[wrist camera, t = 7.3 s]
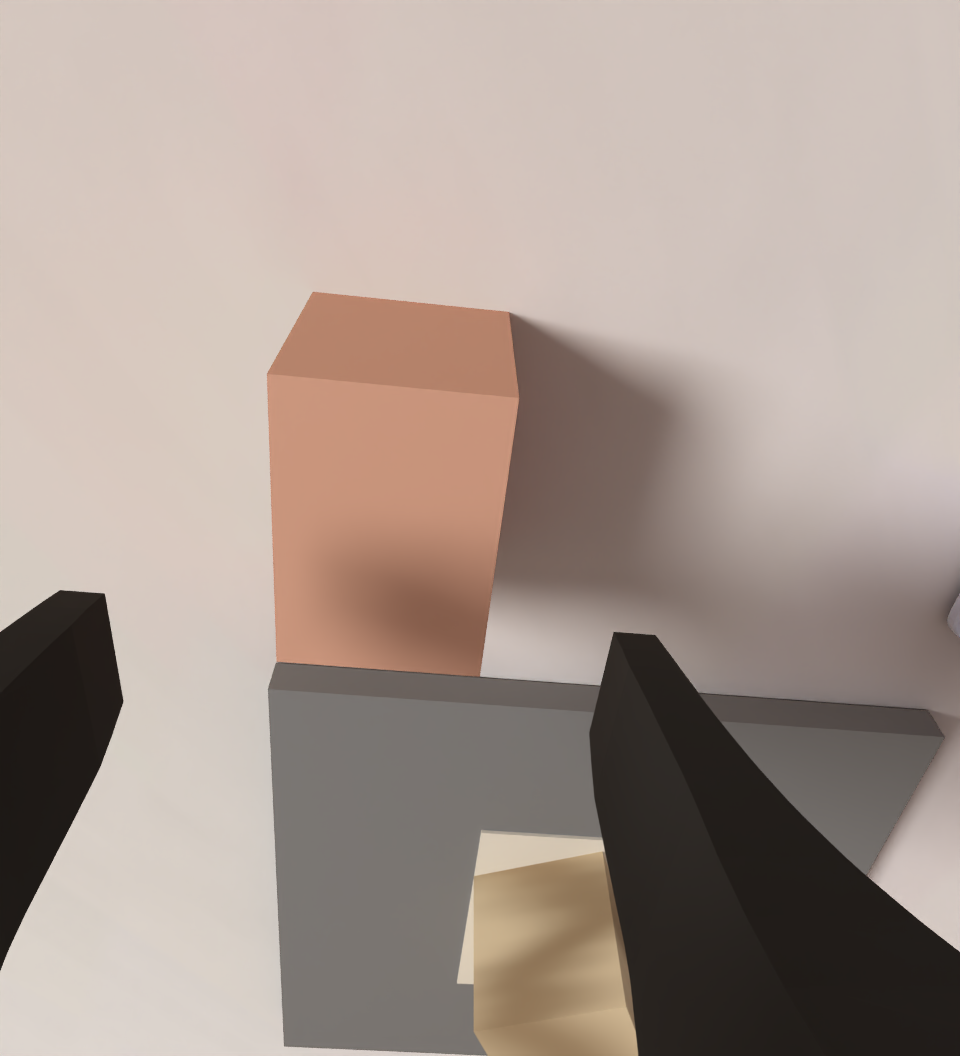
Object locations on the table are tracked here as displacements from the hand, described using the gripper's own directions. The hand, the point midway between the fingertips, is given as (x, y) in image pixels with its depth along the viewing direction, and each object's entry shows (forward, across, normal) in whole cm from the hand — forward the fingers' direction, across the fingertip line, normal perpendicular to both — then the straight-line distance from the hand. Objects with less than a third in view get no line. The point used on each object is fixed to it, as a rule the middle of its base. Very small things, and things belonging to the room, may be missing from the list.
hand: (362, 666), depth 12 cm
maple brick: (+6, -6, +16) cm, 18 cm away
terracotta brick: (+8, 0, 0) cm, 8 cm away
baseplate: (+8, -6, +16) cm, 19 cm away
